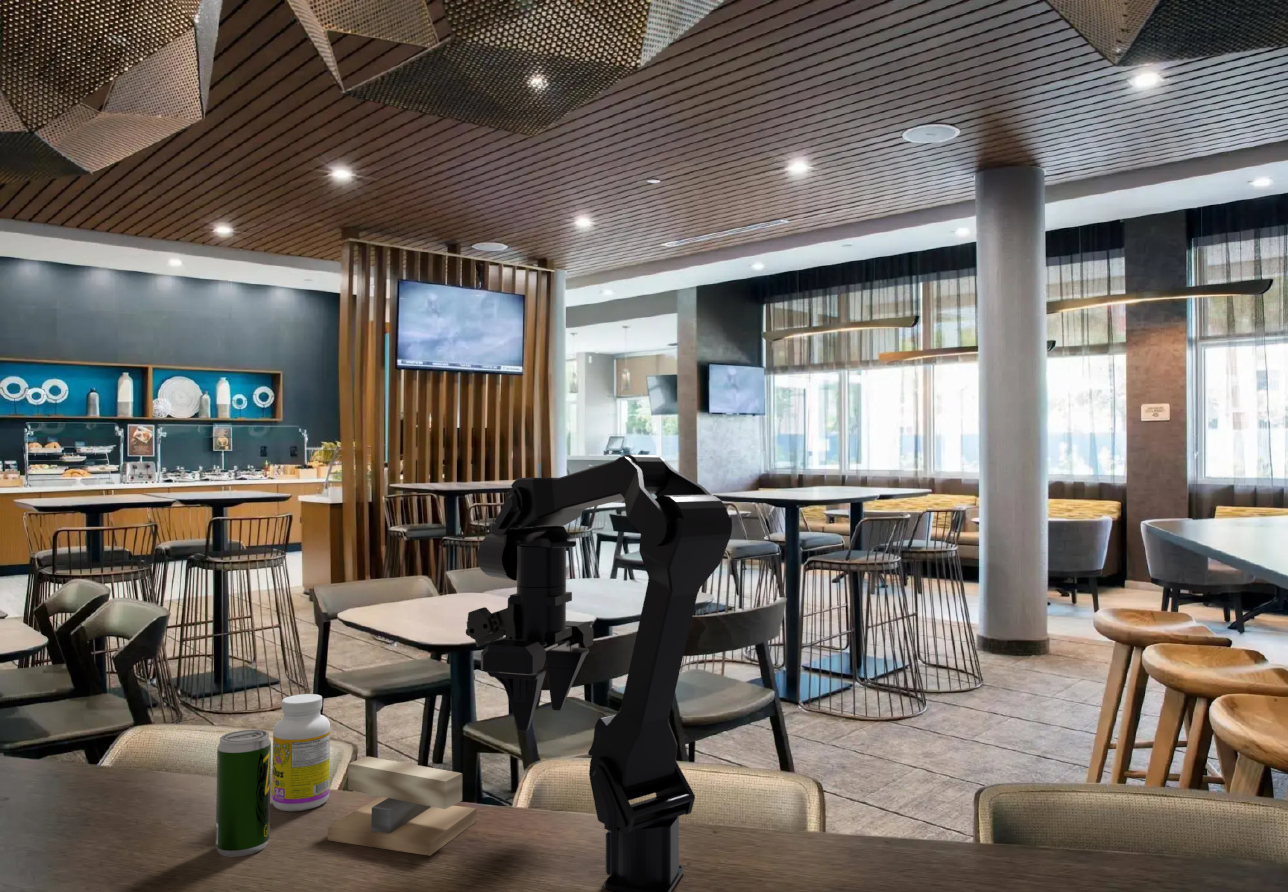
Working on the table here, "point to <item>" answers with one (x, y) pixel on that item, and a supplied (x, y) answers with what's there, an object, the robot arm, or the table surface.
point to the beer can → (243, 792)
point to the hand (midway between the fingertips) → (540, 719)
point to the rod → (405, 782)
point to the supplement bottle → (301, 755)
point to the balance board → (402, 826)
